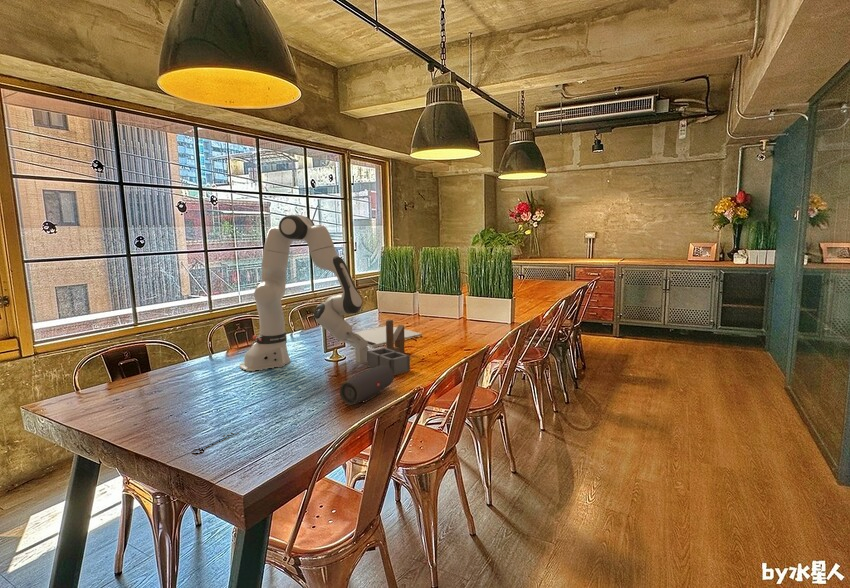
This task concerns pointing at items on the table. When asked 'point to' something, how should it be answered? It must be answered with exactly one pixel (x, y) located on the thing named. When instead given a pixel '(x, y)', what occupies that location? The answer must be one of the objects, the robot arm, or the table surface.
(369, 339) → the white flat board
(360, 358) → the clay bar
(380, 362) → the grey cinder block
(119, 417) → the table surface
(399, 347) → the wooden block
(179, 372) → the table surface
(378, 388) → the bluetooth speaker
